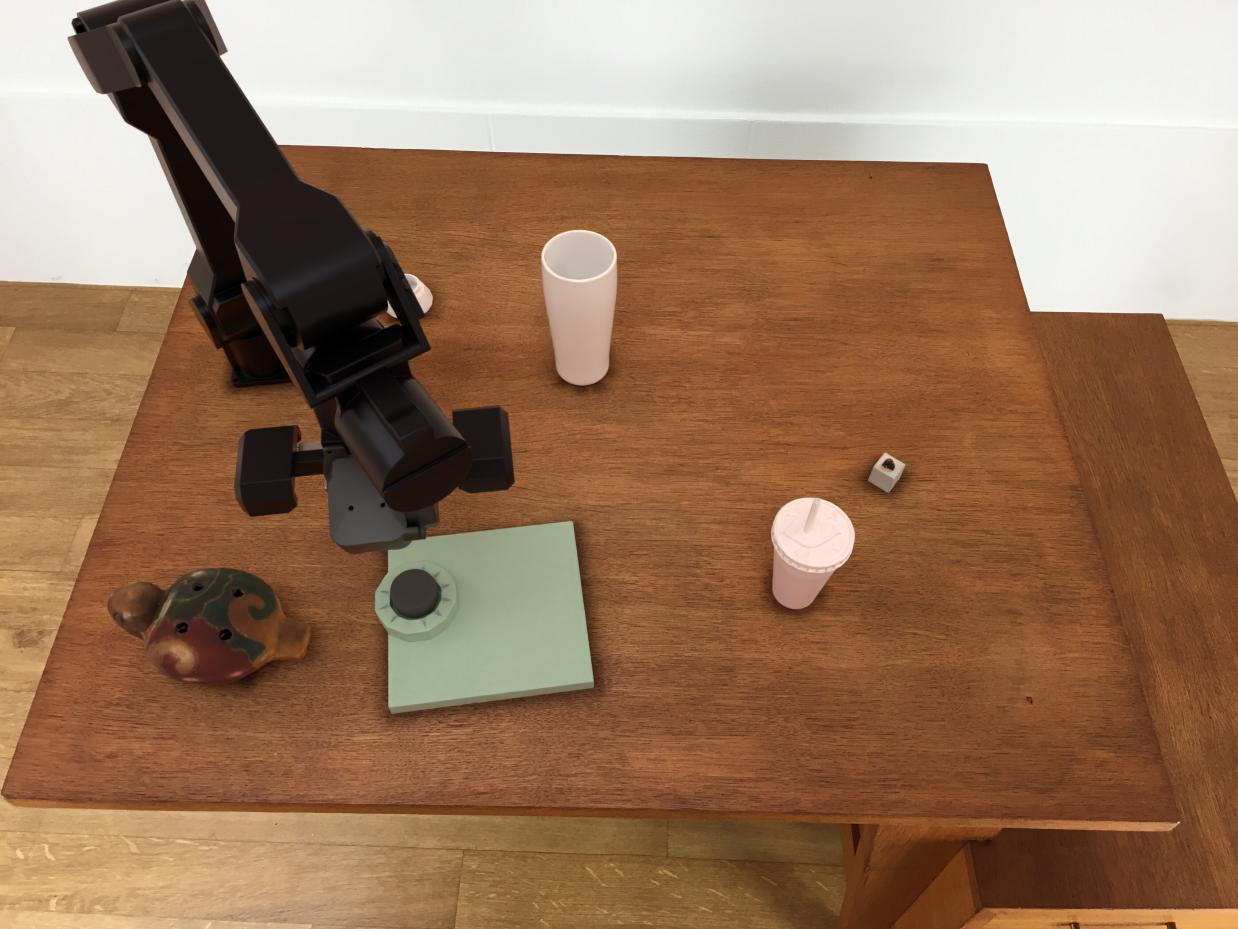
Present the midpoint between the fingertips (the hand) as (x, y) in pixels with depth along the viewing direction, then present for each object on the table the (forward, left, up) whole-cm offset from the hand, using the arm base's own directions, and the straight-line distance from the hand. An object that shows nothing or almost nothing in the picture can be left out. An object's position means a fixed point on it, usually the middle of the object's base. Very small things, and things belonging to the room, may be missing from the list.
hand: (398, 520), depth 74 cm
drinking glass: (+17, +22, -10) cm, 29 cm away
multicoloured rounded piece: (-15, -4, -10) cm, 19 cm away
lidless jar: (0, +33, -10) cm, 34 cm away
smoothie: (+32, -5, -10) cm, 34 cm away
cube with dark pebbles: (+43, +5, -10) cm, 44 cm away
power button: (0, -3, -7) cm, 8 cm away
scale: (+6, -4, -10) cm, 12 cm away
